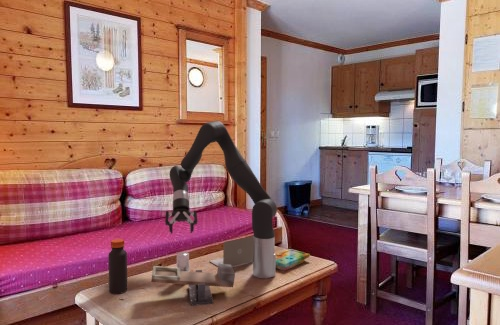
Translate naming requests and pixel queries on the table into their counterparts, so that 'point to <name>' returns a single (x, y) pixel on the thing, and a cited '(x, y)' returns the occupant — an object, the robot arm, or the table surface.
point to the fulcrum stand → (200, 294)
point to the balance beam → (194, 276)
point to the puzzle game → (290, 259)
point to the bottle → (117, 267)
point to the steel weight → (183, 261)
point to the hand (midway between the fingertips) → (181, 232)
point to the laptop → (236, 252)
